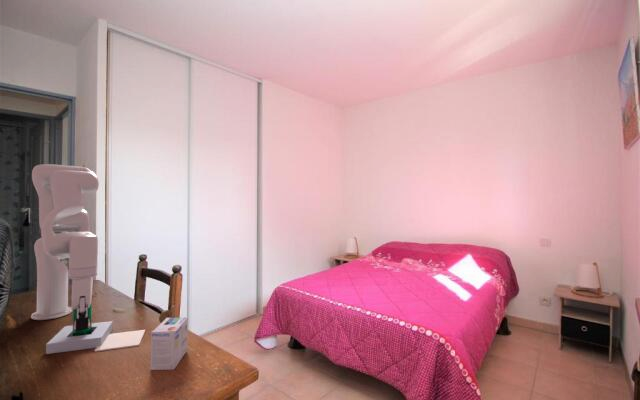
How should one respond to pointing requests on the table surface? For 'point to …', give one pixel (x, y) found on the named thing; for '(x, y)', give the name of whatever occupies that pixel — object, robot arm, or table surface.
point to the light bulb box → (168, 343)
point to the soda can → (89, 330)
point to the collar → (79, 338)
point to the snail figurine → (167, 313)
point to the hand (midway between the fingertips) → (82, 326)
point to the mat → (121, 340)
